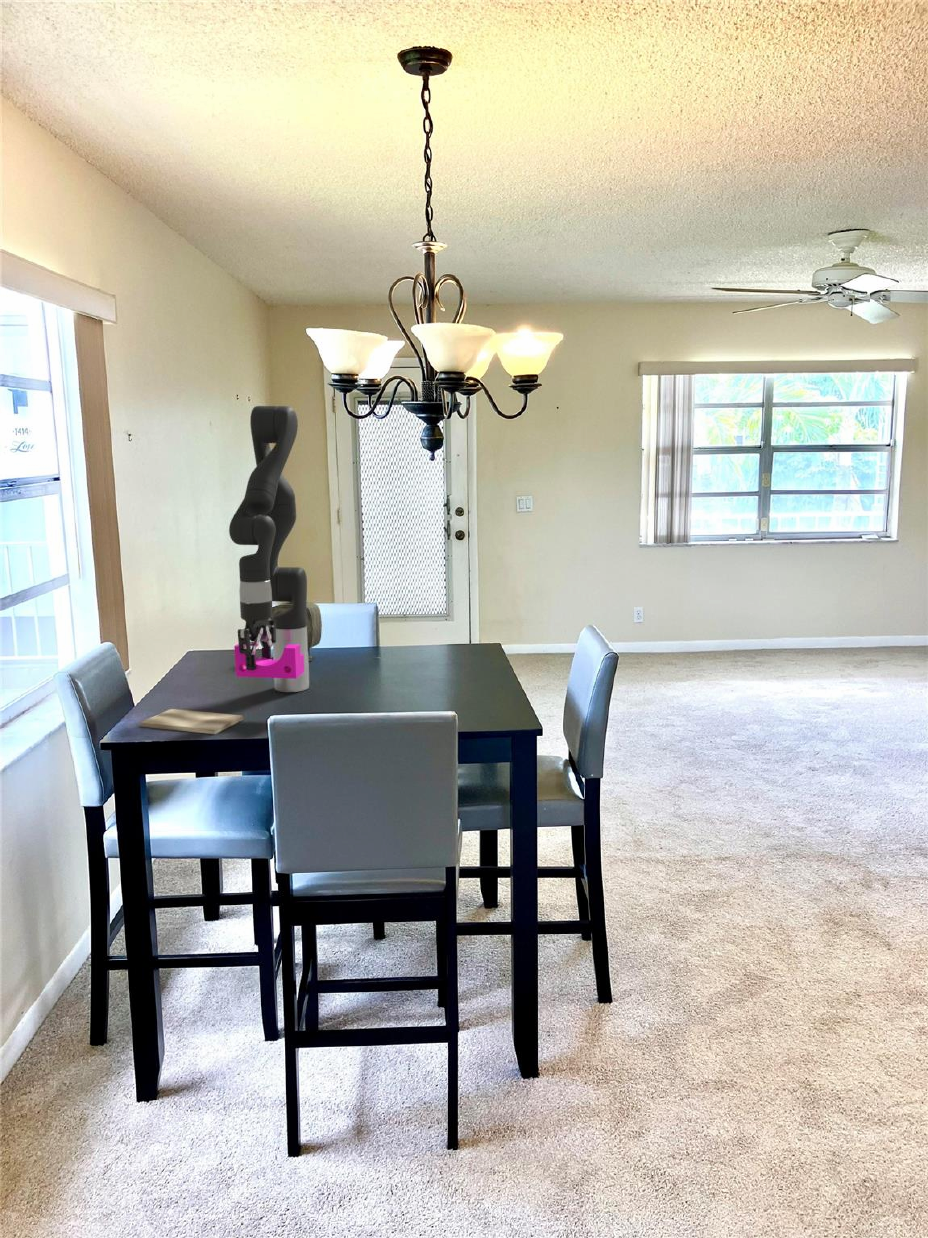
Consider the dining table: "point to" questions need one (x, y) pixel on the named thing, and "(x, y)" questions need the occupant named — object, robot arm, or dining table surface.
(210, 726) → the oak board
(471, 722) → the dining table surface
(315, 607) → the tabletop clock
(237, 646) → the magenta cradle block
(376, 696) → the dining table surface
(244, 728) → the dining table surface
